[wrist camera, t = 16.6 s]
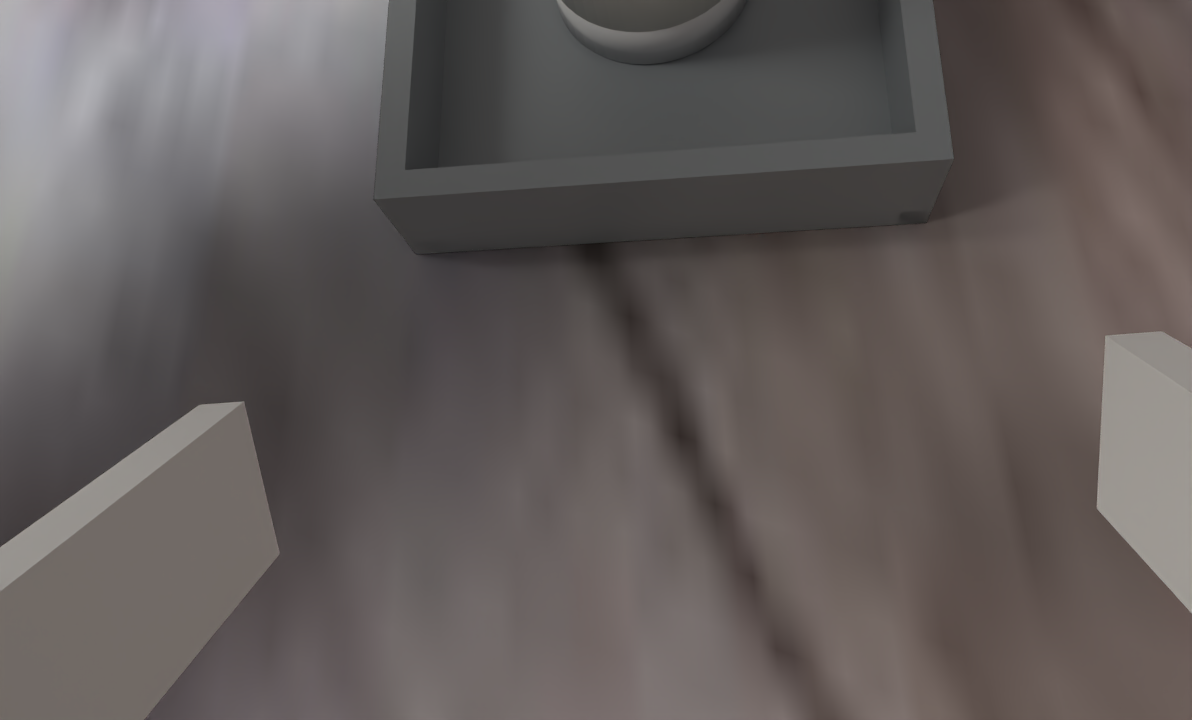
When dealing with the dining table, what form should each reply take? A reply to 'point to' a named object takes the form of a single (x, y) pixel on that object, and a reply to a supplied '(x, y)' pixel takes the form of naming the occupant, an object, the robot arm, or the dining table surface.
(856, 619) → the dining table surface
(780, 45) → the parts tray
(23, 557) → the robot arm
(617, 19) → the grey lidded jar
